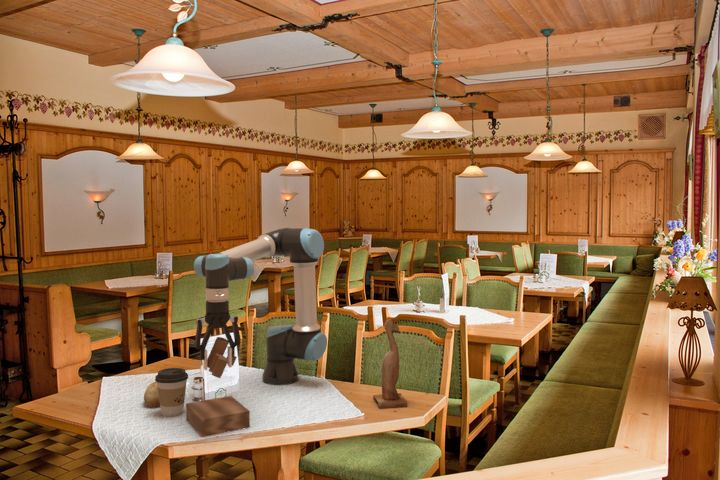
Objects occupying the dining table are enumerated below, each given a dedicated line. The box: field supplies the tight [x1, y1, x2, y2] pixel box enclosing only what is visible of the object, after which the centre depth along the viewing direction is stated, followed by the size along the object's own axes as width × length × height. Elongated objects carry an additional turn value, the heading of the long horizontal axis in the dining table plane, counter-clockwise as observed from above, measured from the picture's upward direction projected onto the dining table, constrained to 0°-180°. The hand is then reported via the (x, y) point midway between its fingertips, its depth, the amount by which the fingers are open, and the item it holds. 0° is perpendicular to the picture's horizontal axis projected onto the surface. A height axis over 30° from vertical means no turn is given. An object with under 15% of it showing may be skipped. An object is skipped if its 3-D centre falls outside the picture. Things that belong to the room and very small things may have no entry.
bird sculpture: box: [372, 318, 408, 409], centre depth 222 cm, size 11×12×32 cm
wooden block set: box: [207, 336, 237, 379], centre depth 198 cm, size 18×9×10 cm, turn 3°
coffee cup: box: [154, 367, 189, 417], centre depth 210 cm, size 11×11×15 cm
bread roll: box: [143, 381, 160, 408], centre depth 222 cm, size 10×15×8 cm, turn 177°
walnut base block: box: [185, 395, 251, 438], centre depth 201 cm, size 16×18×6 cm
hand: (217, 367), depth 200 cm, fingers closed on wooden block set, 7 cm apart
